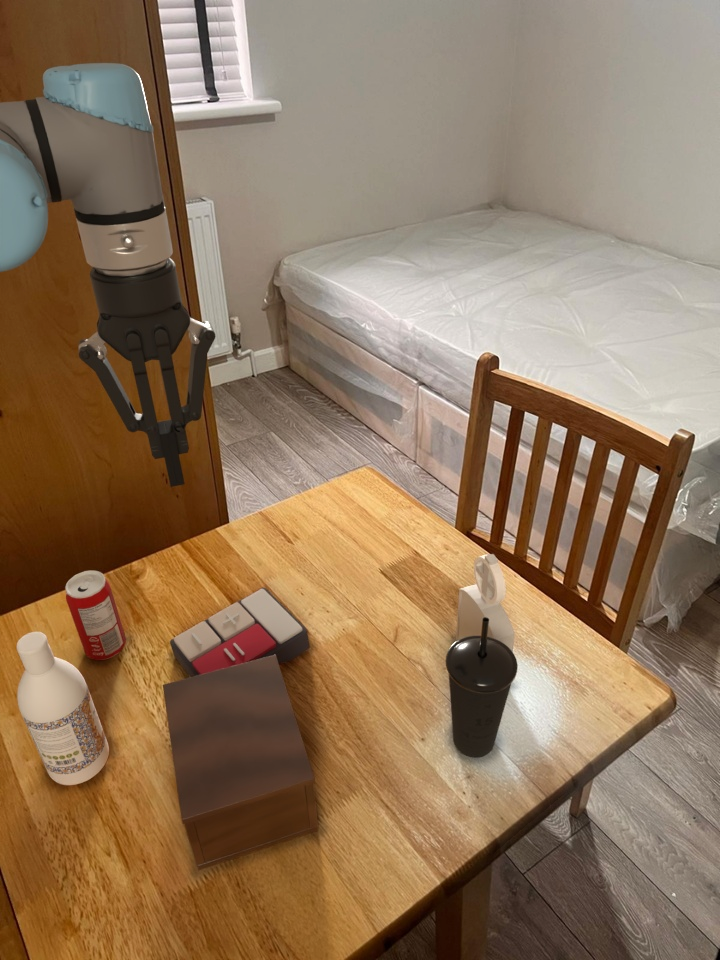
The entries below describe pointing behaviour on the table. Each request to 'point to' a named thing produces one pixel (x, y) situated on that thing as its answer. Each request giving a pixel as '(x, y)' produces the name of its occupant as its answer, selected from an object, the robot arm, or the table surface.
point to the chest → (253, 826)
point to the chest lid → (234, 738)
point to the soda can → (95, 615)
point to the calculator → (241, 636)
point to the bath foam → (59, 713)
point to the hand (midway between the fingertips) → (176, 478)
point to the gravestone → (485, 603)
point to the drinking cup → (478, 690)
